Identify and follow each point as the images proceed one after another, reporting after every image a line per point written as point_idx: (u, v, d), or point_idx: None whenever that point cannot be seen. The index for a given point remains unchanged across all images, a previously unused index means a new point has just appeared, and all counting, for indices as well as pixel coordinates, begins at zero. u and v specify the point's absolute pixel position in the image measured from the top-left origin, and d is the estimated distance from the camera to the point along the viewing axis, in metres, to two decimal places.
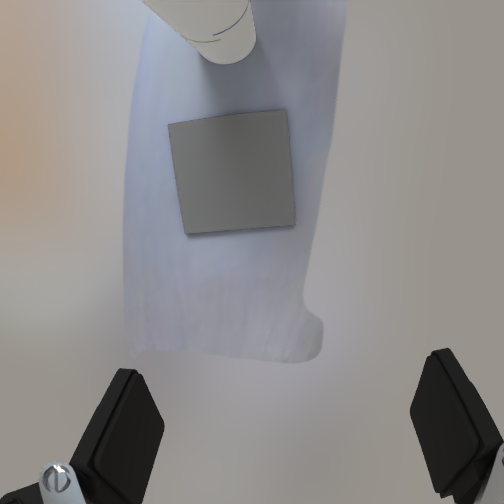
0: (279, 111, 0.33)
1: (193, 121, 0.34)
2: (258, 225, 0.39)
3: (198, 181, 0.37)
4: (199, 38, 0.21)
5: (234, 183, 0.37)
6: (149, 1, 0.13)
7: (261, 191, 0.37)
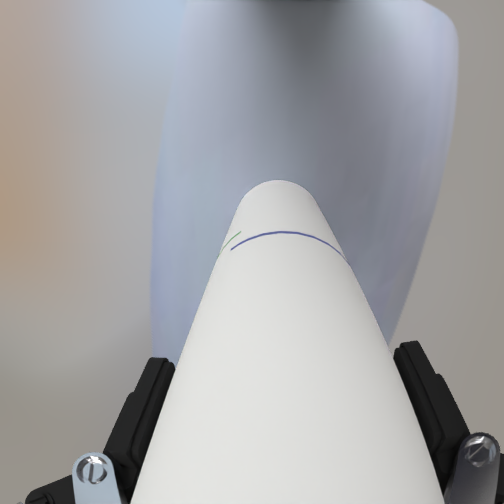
0: None
1: None
2: None
3: None
4: None
5: None
6: None
7: None
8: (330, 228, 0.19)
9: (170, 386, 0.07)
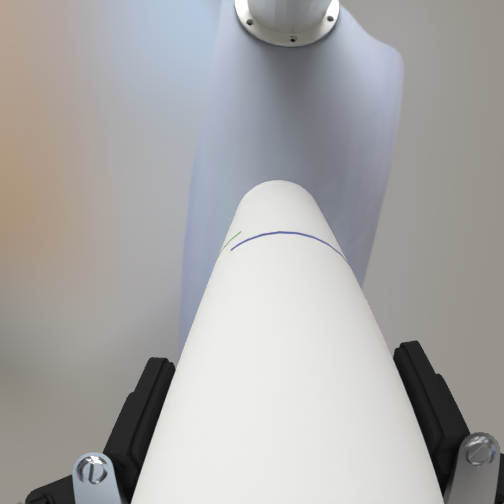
0: None
1: None
2: None
3: None
4: None
5: None
6: None
7: None
8: None
9: (170, 386, 0.08)
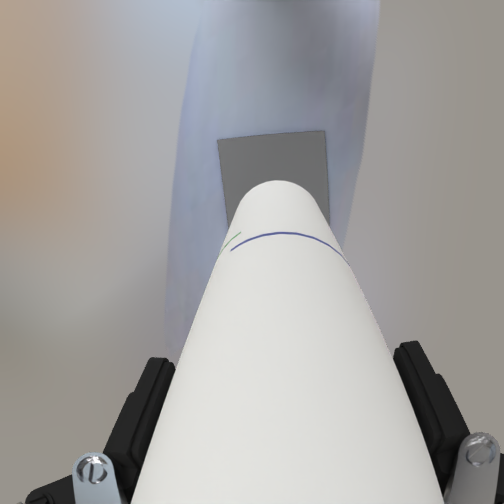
0: (318, 132, 0.38)
1: (241, 138, 0.39)
2: None
3: (244, 193, 0.42)
4: None
5: None
6: None
7: None
8: None
9: (170, 388, 0.07)
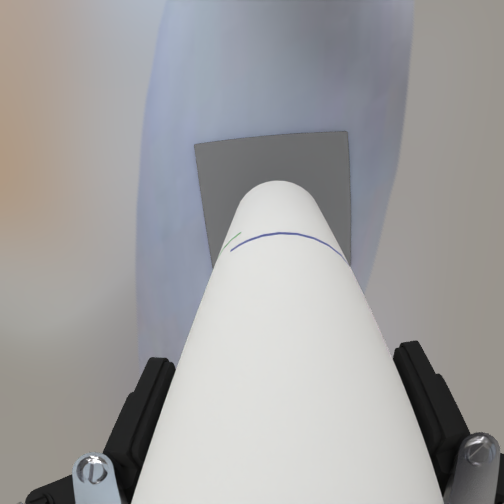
0: (339, 133, 0.26)
1: (228, 141, 0.27)
2: None
3: None
4: None
5: None
6: None
7: None
8: None
9: (170, 388, 0.07)
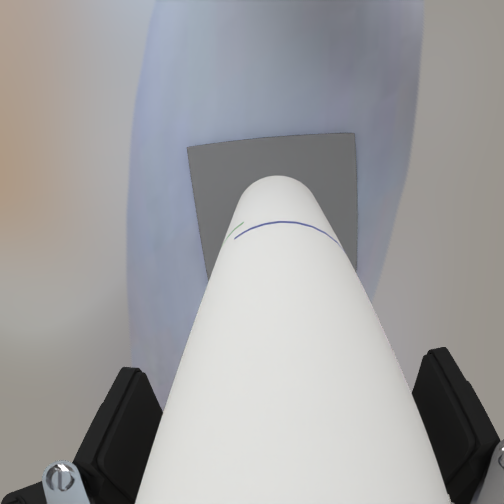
0: (345, 135, 0.24)
1: (224, 144, 0.25)
2: None
3: None
4: None
5: None
6: None
7: None
8: None
9: (182, 358, 0.08)
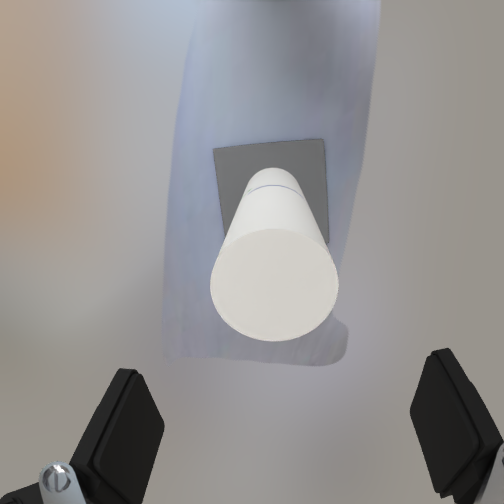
0: (317, 140, 0.37)
1: (237, 147, 0.38)
2: None
3: None
4: None
5: None
6: None
7: None
8: None
9: (229, 228, 0.22)
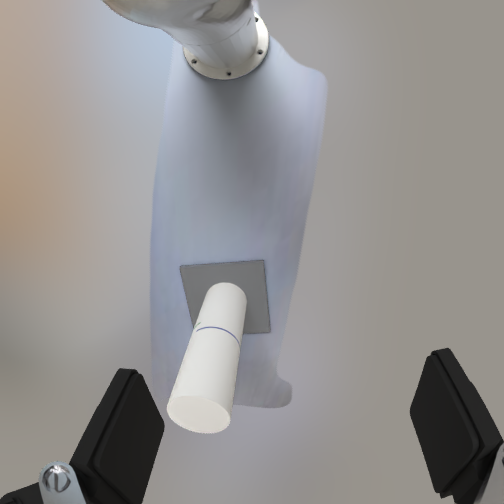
0: (258, 263, 0.51)
1: (197, 267, 0.52)
2: (245, 332, 0.56)
3: None
4: None
5: None
6: None
7: (246, 313, 0.55)
8: (239, 314, 0.47)
9: (179, 370, 0.35)
